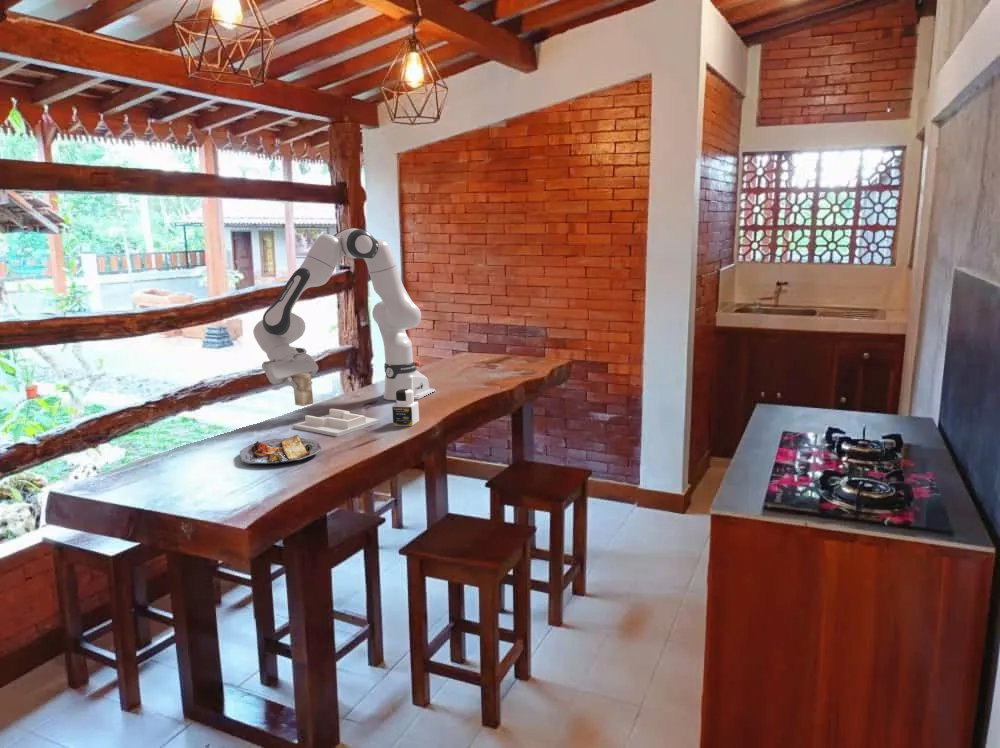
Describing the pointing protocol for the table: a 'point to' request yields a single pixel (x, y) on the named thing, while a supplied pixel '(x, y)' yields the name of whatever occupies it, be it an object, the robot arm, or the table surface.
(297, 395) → the beech peg
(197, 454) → the table surface
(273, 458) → the food plate
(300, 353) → the robot arm
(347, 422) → the keyhole dock
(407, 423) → the medicine bottle
